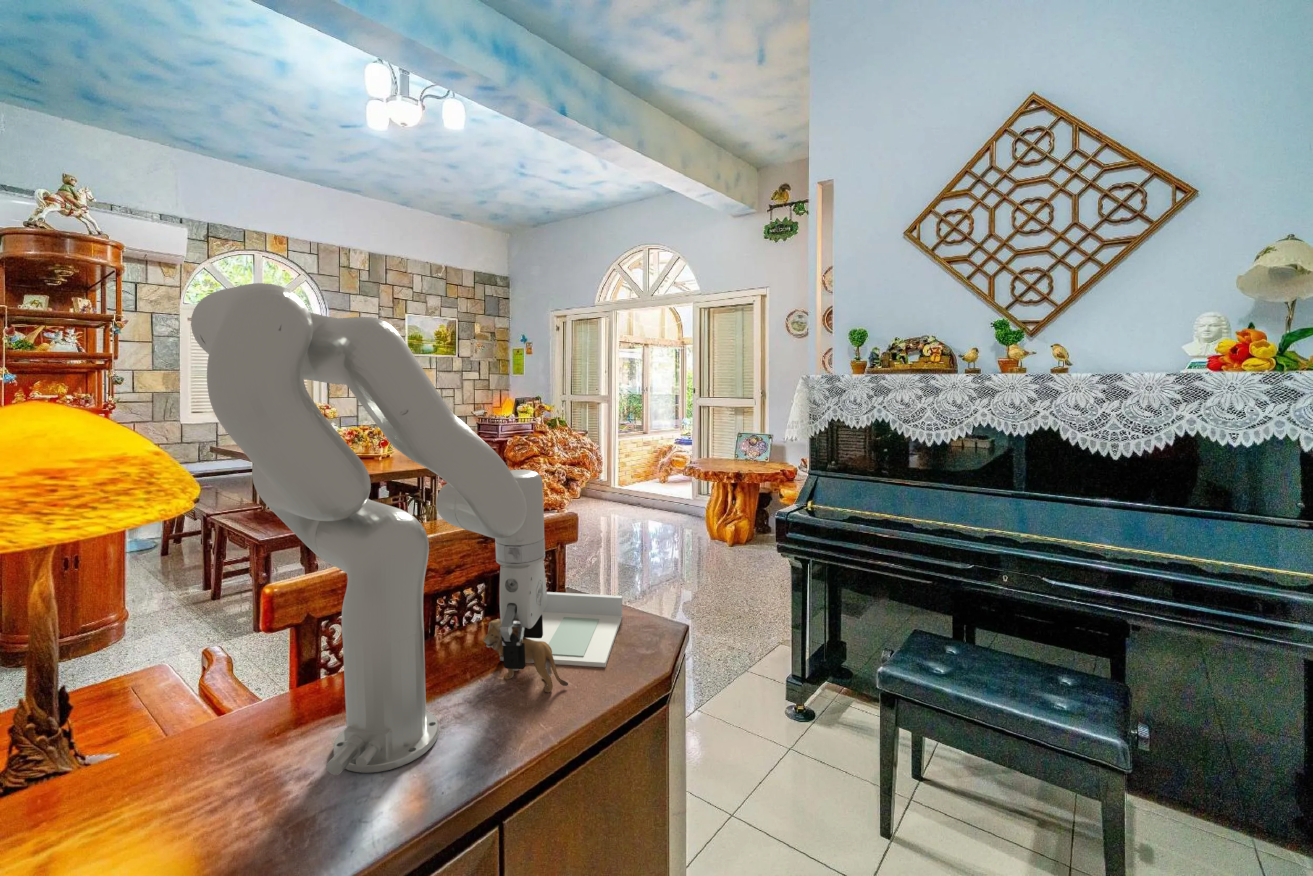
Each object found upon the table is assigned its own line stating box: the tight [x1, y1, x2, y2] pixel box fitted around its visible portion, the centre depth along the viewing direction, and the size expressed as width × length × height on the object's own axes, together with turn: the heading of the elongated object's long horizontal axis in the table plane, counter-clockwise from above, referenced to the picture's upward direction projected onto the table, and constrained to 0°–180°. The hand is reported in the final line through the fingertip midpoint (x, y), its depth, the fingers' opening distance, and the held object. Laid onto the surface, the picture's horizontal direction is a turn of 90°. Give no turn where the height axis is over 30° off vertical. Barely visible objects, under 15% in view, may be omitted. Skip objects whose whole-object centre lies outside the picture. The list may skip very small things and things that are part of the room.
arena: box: [499, 591, 623, 668], centre depth 109 cm, size 20×18×4 cm
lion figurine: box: [482, 618, 569, 693], centre depth 94 cm, size 15×5×9 cm, turn 71°
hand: (524, 651), depth 96 cm, fingers open, 9 cm apart
